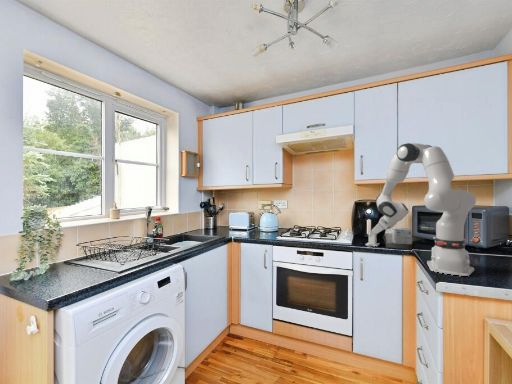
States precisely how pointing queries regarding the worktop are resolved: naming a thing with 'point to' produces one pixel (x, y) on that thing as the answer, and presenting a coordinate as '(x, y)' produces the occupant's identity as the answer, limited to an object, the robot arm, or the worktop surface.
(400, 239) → the light bulb box
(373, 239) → the grey module
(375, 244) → the mounting pad
